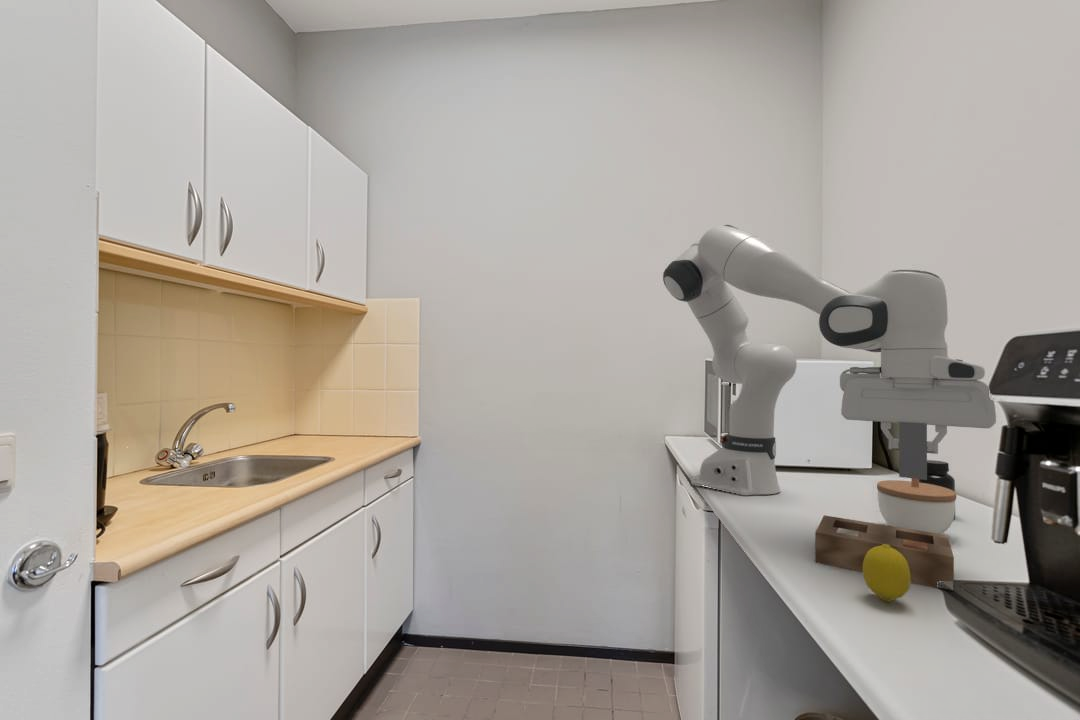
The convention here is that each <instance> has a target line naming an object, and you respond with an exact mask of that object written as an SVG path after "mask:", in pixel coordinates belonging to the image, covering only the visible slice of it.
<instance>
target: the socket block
mask: <svg viewBox="0 0 1080 720" xmlns="http://www.w3.org/2000/svg"><path fill="white" fill-rule="evenodd" d="M814 537H815V538H814V540H815V541H814V552H815V553H814V562H815V561H816V562H815V563H818V562H820V563H819V564H822V563H824V564H823V565H827V564H828V566H832V565H833V567H837V568H841V569H842V568H843V569H847V570H851V571H856V572H861V573H863V561H864V558H865V555H866V553H867V552H868V551H869V550H870V549H872V548H874V547H876V546H882V545H883V544H888V545H889V546H890V547H891V548H893V549H895V550H897V551H898V552H900V553H901V554H902V555H903V557H904V558H905V559H906V561H907V563H908V566H909V570H910V578H911V580H910V583H913V584H918V585H922V586H927V587H933V588H935V589H936V588H937V582H939V581H954V582H955V580H954V579H955V566H954V565H955V556H954V553H953V550H952V549H953V548H952V546H951V542H950V540H949V535H948V534H944V533H942V534H937V533H931V532H925V531H918V530H912V529H906V528H900V527H894V526H890V525H889V524H888V525H886V524H880V523H873V522H867V521H863V520H862V521H861V520H858V519H857V520H856V519H850V518H844V517H838V516H837V517H836V516H830V515H825V514H824V515H823V516H822V518H821V520H820V522H819V524H818V526H817V528H816V530H815V533H814ZM937 589H938V588H937Z"/></svg>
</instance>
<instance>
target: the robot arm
mask: <svg viewBox="0 0 1080 720" xmlns="http://www.w3.org/2000/svg"><path fill="white" fill-rule="evenodd" d="M662 275H663V276H662V281H663V284H664V287H665V288H666V290H667V291H668V292H669V294H671V296H672V297H674V298H675V299H676V300H677V301H680V302H683V303H684V302H685V303H687V305H688V306H689V309H690V310H691V312H692V313H693V315H694V317H695V318H696V321H698V323H699V324H700V326H701V328H702V330H703V332H704V333H705V334H706V337H708V340H709V342H710V344H711V348H712V351H713V358H712V361H711V367H712V371H713V374H714V375H715V376H716V377H717V378H719V379H720V380H722V381H724V382H727V383H732V384H735V385H736V384H740V385H741V389H740V392H739V394H738V396H737V398H736V400H734V401H732V403H731V404H730V406H729V411H728V412H729V416H728V417H729V418H728V419H729V423H728V424H729V428H728V429H729V431H728V433H726V434H724V435H723V436H722V437H721V438H720V443H721V446H722V447H721V448H719V449H718V450H716V451H715V452H714V453H712V454H711V455H709V456H708V457H706V458H705V459H704V460H703V461H702V463H701V465H700V469H699V474H698V475H695V476H692V478H691V479H690V483H691V485H692V486H695V487H700V486H702V485H704V486H708V487H711V488H715V489H719V490H723V491H722V492H724V491H726V492H725V493H729V492H731V494H734V493H736V494H735V495H739V494H740V496H753V495H773V494H778V493H780V492H781V489H780V485H779V482H778V477H777V471H776V463H775V459H776V455H777V441H776V437H775V436H774V435H775V409H776V405H777V401H778V398H779V395H780V394H781V391H782V390H783V387H784V386H785V385H786V384H787V382H789V381H790V380H791V379H792V378H793V377H794V375H795V374H796V371H797V358H796V356H795V354H794V352H793V351H792V349H791V348H789V347H787V346H786V345H782V344H778V343H777V344H776V343H772V342H767V343H766V342H763V343H762V342H761V343H752V342H751V341H750V340H749V338H748V336H747V334H746V332H747V331H746V329H747V327H748V326H749V317H748V315H747V314H746V312H745V310H744V309H743V307H742V305H741V303H740V302H739V301H738V299H737V297H736V296H735V295H734V293H733V292H732V289H731V288H730V287H729V285H731V286H732V287H734V288H736V289H738V290H741V291H743V292H745V293H749V294H751V295H756V296H759V297H765V298H771V299H777V300H783V301H787V302H792V303H795V304H797V305H800V306H803V307H805V308H807V309H809V310H811V311H812V312H814V313H817V315H819V318H818V327H819V330H820V333H821V335H822V336H823V338H824V339H825V340H826V341H827V342H828V343H830V344H832V345H835V346H837V347H840V348H845V349H853V350H854V349H855V350H863V351H866V352H870V353H880V366H879V367H878V366H871V367H870V366H868V367H859V366H852V367H850V368H849V369H845V370H843V371H842V372H841V374H840V375H839V387H840V389H841V390H842V391H843V394H842V400H841V408H840V409H841V416H842V417H843V418H844V419H845V420H848V421H863V422H865V421H866V422H875V423H876V422H880V430H881V431H882V432H883V434H884V435H885V437H886V439H887V440H888V450H890V451H891V450H892V451H899V438H894V436H893V435H892V433H891V432H890V431H889V430H891V428H892V423H895V424H896V423H897V424H899V422H910V423H927V426H935V427H934V429H935V433H937V435H936V436H935V437H934V438H933V440H932V441H929V440H927V454H935V455H938V454H939V444H940V443H941V441H942V440H943V439H944V437H945V436H946V435H947V434H948V427H958V428H972V429H973V428H974V429H976V428H977V429H990V428H992V427H994V425H995V424H996V423H997V413H996V411H997V410H996V405H995V400H994V401H993V400H991V399H990V397H989V388H990V386H989V385H988V384H987V383H985V382H983V381H981V380H982V379H984V377H985V373H986V371H985V368H984V366H981V365H979V364H975V363H970V362H966V361H964V360H962V359H957V358H956V359H954V358H949V356H948V345H947V341H946V337H945V331H946V328H947V325H948V322H949V321H948V317H949V315H948V301H947V300H948V299H947V291H946V286H945V283H944V281H943V279H942V278H941V277H940V276H938V275H937V274H936V273H935V274H934V273H932V272H929V271H926V270H918V269H896V270H895V269H894V270H891V271H888V272H886V273H885V274H884V275H883V276H882V277H880V279H877V280H875V282H873V283H871V284H869V285H868V286H866V287H862V288H861V289H858V290H855V291H853V292H849V291H848V290H845V289H843V288H841V287H839V286H838V285H835V284H833V283H831V282H829V281H827V280H825V279H823V278H821V277H818V276H817V275H815V274H813V273H812V272H811V271H809V270H808V269H806V268H805V267H804V266H802V265H801V264H799V263H798V262H797V261H795V260H793V259H792V258H791V257H789V255H787V254H786V253H784V252H783V251H781V250H780V249H779V248H777V246H774V245H773V244H771V243H770V242H768V241H766V240H764V239H763V238H761V237H759V236H757V235H755V234H752V233H750V232H747V231H745V230H742V229H739V228H738V227H736V226H733V225H731V224H724V225H716V226H712V227H711V228H709V229H708V230H707V231H706V232H704V234H703V235H702V236H701V238H700V239H698V240H696V241H695V242H694V243H692V245H690V247H689V248H688V249H686V250H685V251H684V252H683V253H681V254H680V255H679V256H678V257H677V258H676V259H675V260H673V261H671V262H670V263H669V265H667V267H666V268H665V269H664V271H663V272H662ZM728 284H729V285H728ZM719 490H718V491H719Z"/></svg>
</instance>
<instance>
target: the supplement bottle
mask: <svg viewBox="0 0 1080 720" xmlns="http://www.w3.org/2000/svg"><path fill="white" fill-rule="evenodd" d="M948 472H950V468H949V462H947V461H941V460H933V459H932V460H931V459H927V480H922V479H919V482H920V483H926V484H932V485H937V486H941V487H944V488H948V489H950V490H953V491H954V492H955V493H956V482H955V481H956V480H955V479H954V477H953V476H952V475H950V473H948ZM955 517H956V513H955V514H954V518H955Z"/></svg>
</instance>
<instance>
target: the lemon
mask: <svg viewBox="0 0 1080 720" xmlns="http://www.w3.org/2000/svg"><path fill="white" fill-rule="evenodd" d="M862 576H863V579H864V583H865V584H866V586H867V587H868V588H869V589H870V591H871V592H872V593H874V594H875V595H877V596H878V597H880V598H881V600H882V601H884V602H886V603H888V602H890V601H892V600H895V599H896V600H897V599H900V598H902V597H903V596H905V594H907V593H908V591H909V589H910V586H911V582H910V580H911V578H910V570H909V566H908V563H907V561H906V559H905V558H904V557H903V555H902V554H901V553H900V552H898V551H897V550H895V549H893V548H891V547H890V546H889V545H888V544H883V545H882V546H876V547H874V548H872V549H870V550H869V551H868V552H867V553H866V555H865V558H864V561H863V572H862Z"/></svg>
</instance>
